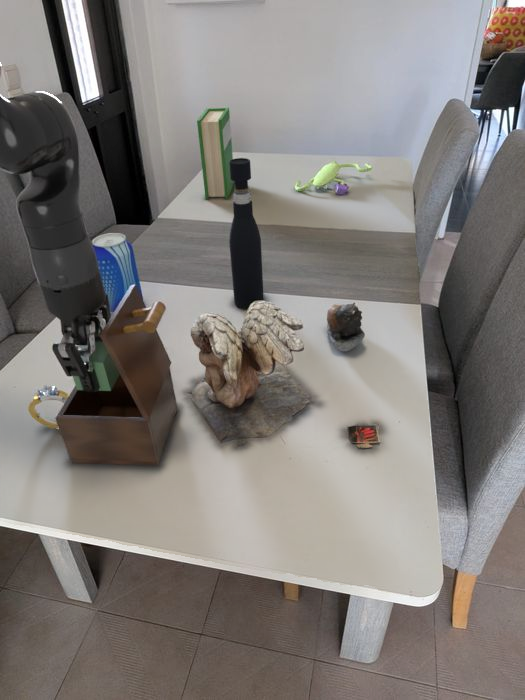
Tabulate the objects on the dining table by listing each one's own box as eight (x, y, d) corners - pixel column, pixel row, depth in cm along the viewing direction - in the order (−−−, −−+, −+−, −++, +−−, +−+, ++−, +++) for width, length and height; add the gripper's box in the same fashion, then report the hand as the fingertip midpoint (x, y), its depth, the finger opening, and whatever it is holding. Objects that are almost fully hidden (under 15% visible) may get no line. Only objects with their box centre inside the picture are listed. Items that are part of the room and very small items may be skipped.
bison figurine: (321, 324, 104) (322, 279, 98) (356, 322, 104) (359, 277, 98) (330, 359, 94) (332, 312, 88) (369, 357, 94) (373, 309, 88)
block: (76, 390, 73) (67, 362, 70) (89, 368, 77) (81, 341, 74) (111, 391, 72) (103, 362, 69) (122, 369, 76) (115, 341, 73)
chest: (71, 462, 76) (54, 418, 71) (101, 405, 86) (88, 363, 81) (157, 466, 75) (147, 421, 70) (177, 407, 85) (169, 365, 80)
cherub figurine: (272, 355, 96) (269, 268, 85) (325, 412, 82) (328, 317, 72) (182, 386, 90) (167, 296, 79) (224, 453, 76) (211, 356, 66)
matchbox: (344, 428, 79) (344, 426, 79) (375, 422, 80) (375, 420, 80) (354, 450, 75) (355, 448, 75) (387, 444, 76) (388, 441, 76)
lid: (99, 335, 62) (140, 327, 61) (130, 285, 72) (166, 277, 71) (144, 419, 70) (181, 414, 68) (166, 363, 80) (199, 358, 79)
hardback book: (228, 198, 167) (221, 119, 153) (205, 199, 168) (196, 120, 154) (234, 181, 182) (228, 107, 168) (213, 182, 182) (206, 108, 168)
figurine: (377, 177, 178) (378, 161, 175) (338, 200, 161) (338, 182, 158) (331, 170, 188) (331, 154, 184) (289, 191, 171) (289, 174, 168)
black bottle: (254, 312, 109) (245, 167, 91) (228, 305, 111) (215, 163, 94) (269, 298, 113) (263, 157, 96) (244, 292, 116) (234, 154, 98)
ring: (84, 421, 83) (71, 382, 79) (77, 435, 81) (63, 396, 76) (43, 420, 84) (28, 382, 79) (34, 434, 81) (18, 395, 77)
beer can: (97, 310, 112) (79, 241, 103) (128, 294, 117) (113, 227, 108) (121, 322, 108) (104, 251, 98) (152, 305, 113) (138, 237, 104)
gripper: (62, 247, 71) (92, 348, 81) (11, 300, 59) (53, 410, 69) (115, 247, 70) (138, 349, 80) (74, 300, 58) (107, 412, 68)
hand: (98, 377), depth 74 cm, fingers closed on block, 5 cm apart
